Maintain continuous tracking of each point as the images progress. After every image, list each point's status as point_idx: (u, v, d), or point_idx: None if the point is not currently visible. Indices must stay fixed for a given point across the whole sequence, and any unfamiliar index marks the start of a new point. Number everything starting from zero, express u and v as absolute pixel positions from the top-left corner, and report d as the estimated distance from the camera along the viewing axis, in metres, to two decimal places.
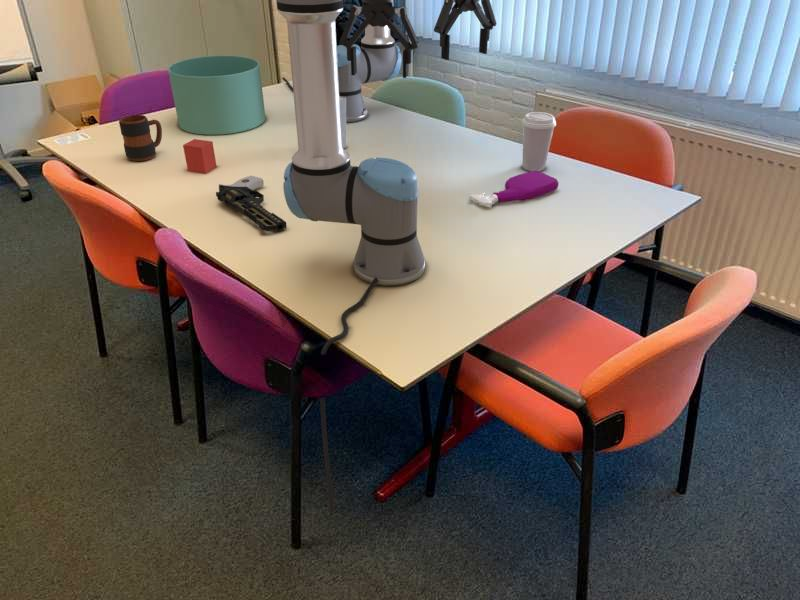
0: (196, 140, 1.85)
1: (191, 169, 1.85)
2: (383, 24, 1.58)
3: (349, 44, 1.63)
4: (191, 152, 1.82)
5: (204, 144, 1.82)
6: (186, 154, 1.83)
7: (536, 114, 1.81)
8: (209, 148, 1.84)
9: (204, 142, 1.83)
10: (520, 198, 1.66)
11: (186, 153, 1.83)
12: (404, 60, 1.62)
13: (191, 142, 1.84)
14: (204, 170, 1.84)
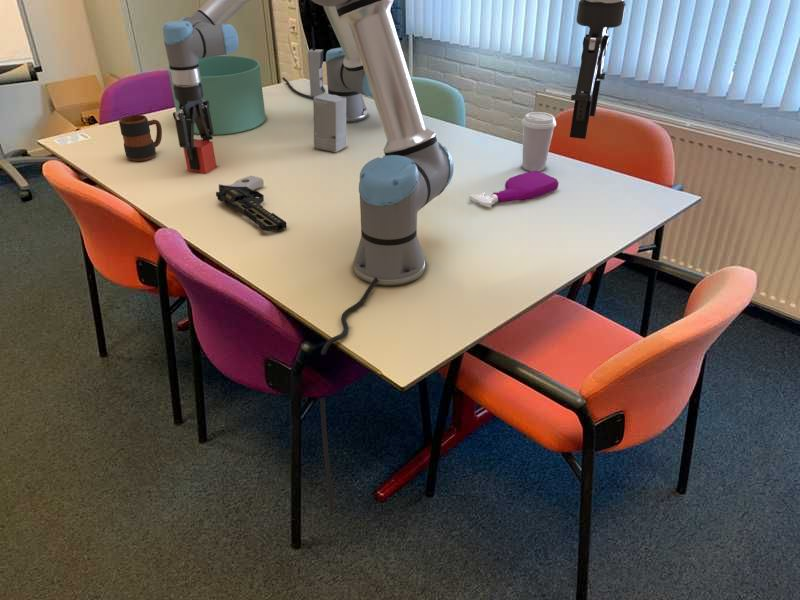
0: (196, 140, 1.85)
1: (191, 169, 1.85)
2: None
3: (591, 95, 1.07)
4: None
5: (204, 144, 1.82)
6: (186, 154, 1.83)
7: (536, 114, 1.81)
8: (209, 148, 1.84)
9: (204, 142, 1.83)
10: (520, 198, 1.66)
11: (186, 153, 1.83)
12: (598, 93, 1.20)
13: None
14: (204, 170, 1.84)
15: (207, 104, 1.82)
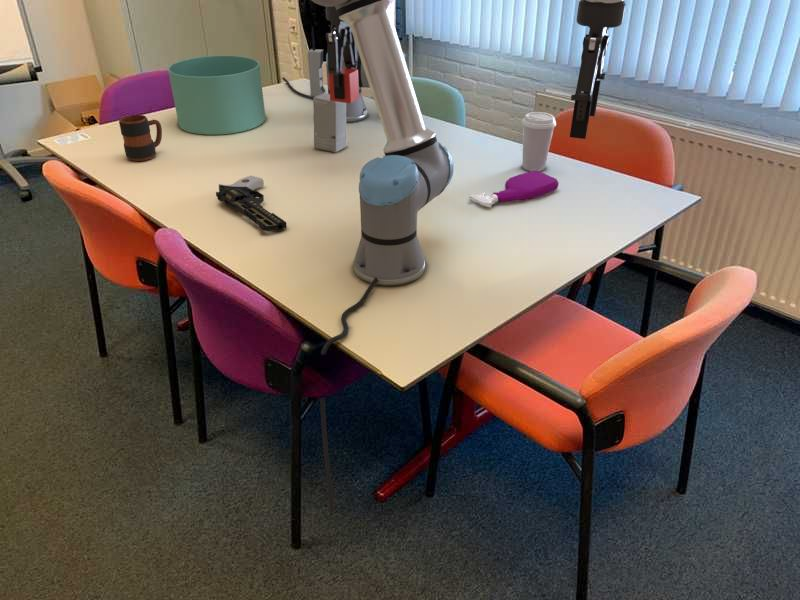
0: None
1: (334, 99, 1.74)
2: None
3: (591, 95, 1.07)
4: None
5: (351, 71, 1.71)
6: (331, 82, 1.72)
7: (536, 114, 1.81)
8: (355, 76, 1.73)
9: (350, 70, 1.72)
10: (520, 198, 1.66)
11: (331, 81, 1.72)
12: (598, 93, 1.20)
13: None
14: (349, 100, 1.73)
15: None
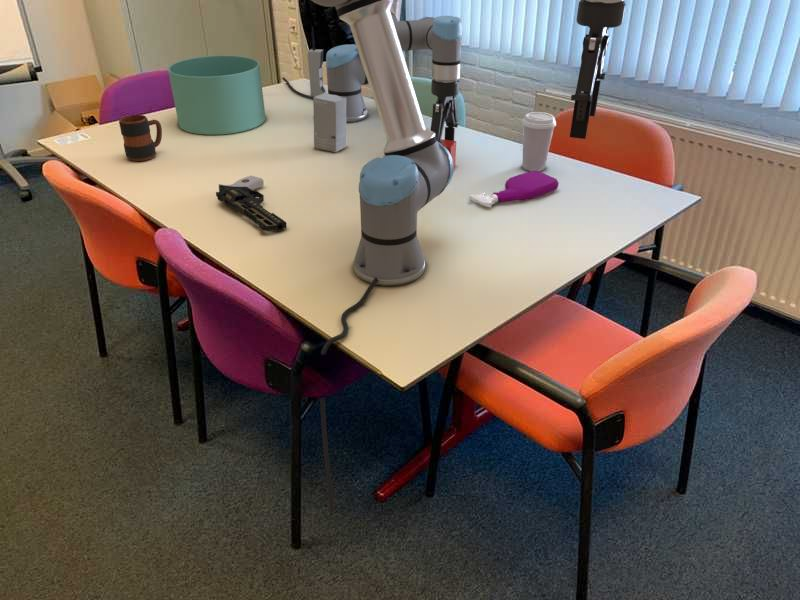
0: None
1: None
2: None
3: (591, 95, 1.07)
4: None
5: (451, 144, 1.82)
6: None
7: (536, 114, 1.81)
8: (454, 148, 1.84)
9: (449, 142, 1.83)
10: (520, 198, 1.66)
11: None
12: (598, 93, 1.20)
13: None
14: None
15: (455, 96, 1.81)
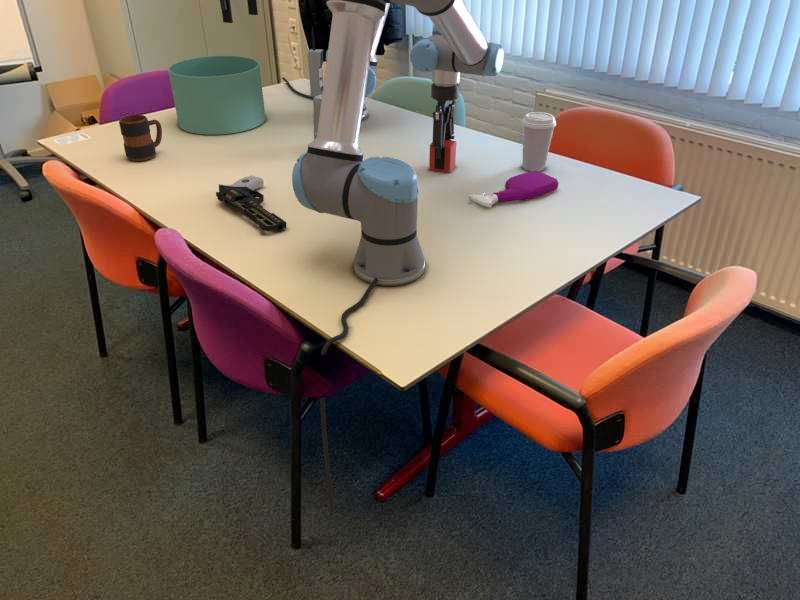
0: None
1: (433, 169, 1.85)
2: (449, 114, 1.80)
3: (443, 144, 1.79)
4: None
5: (451, 144, 1.82)
6: (431, 154, 1.83)
7: (536, 114, 1.81)
8: (454, 148, 1.84)
9: (449, 142, 1.83)
10: (520, 198, 1.66)
11: (432, 153, 1.83)
12: None
13: None
14: (448, 170, 1.84)
15: None
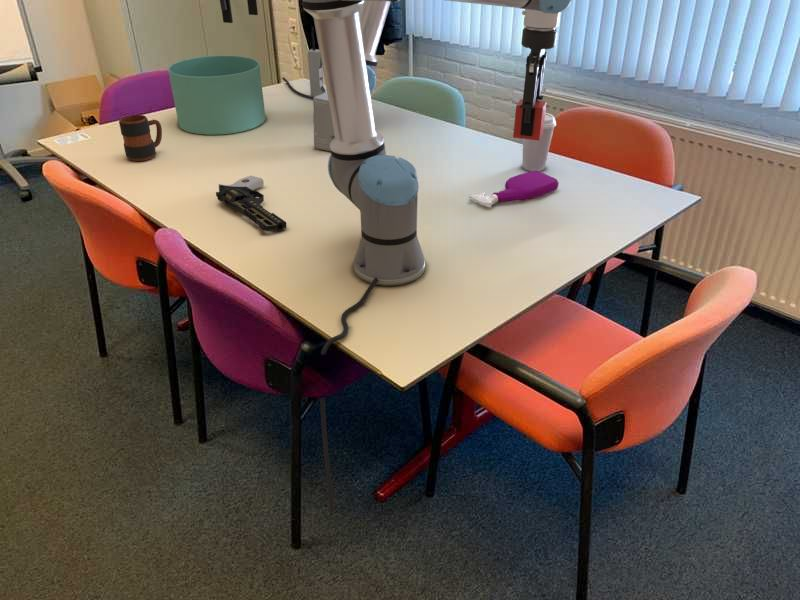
0: None
1: (519, 136, 1.53)
2: None
3: (534, 104, 1.47)
4: None
5: (542, 105, 1.49)
6: (517, 117, 1.51)
7: None
8: (544, 110, 1.51)
9: (539, 103, 1.51)
10: (520, 198, 1.66)
11: (518, 116, 1.50)
12: None
13: None
14: (538, 136, 1.51)
15: None
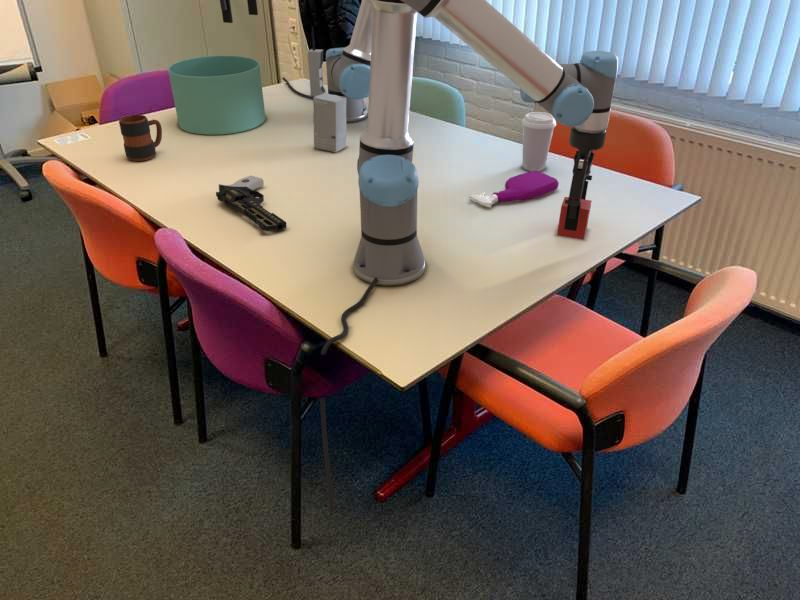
0: None
1: (563, 234, 1.51)
2: None
3: (580, 200, 1.41)
4: None
5: (587, 205, 1.48)
6: (562, 216, 1.49)
7: (536, 114, 1.81)
8: (589, 209, 1.49)
9: (584, 202, 1.49)
10: (520, 198, 1.66)
11: (563, 215, 1.49)
12: (586, 190, 1.53)
13: None
14: (582, 236, 1.50)
15: None
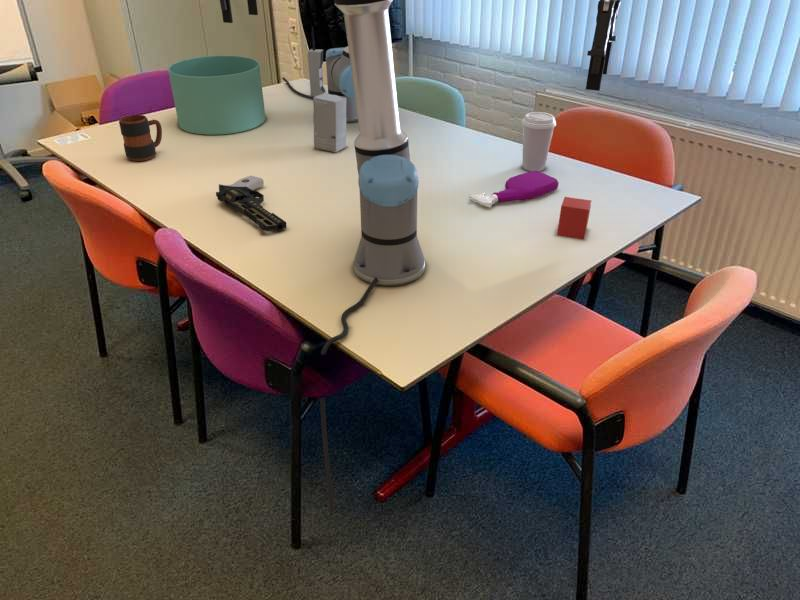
0: (570, 199, 1.51)
1: (563, 234, 1.51)
2: None
3: (605, 51, 1.24)
4: (571, 214, 1.48)
5: (587, 205, 1.48)
6: (562, 217, 1.49)
7: (536, 114, 1.81)
8: (589, 209, 1.49)
9: (584, 202, 1.49)
10: (520, 198, 1.66)
11: (563, 215, 1.49)
12: None
13: (567, 201, 1.49)
14: (582, 236, 1.50)
15: None
